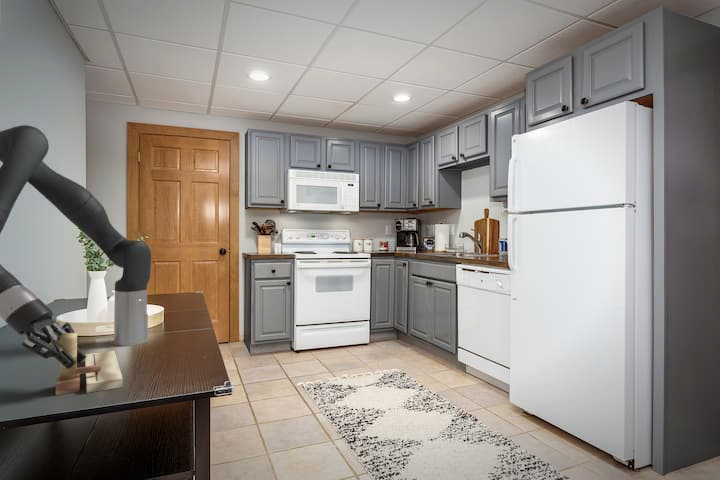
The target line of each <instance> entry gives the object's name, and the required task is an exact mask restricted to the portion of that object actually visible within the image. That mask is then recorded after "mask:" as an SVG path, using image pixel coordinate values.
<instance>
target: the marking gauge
mask: <svg viewBox="0 0 720 480" xmlns="http://www.w3.org/2000/svg"><path fill="white" fill-rule="evenodd" d="M77 337H78V333H76V332H75V333H66V334H62V335H60V339H59V341H60V345H61V346H62V347H63V349H64V350H63V351H65V350H66V351H67V352H68V353H69V354H70V355H71V356H72V357H73V358H74V359H75V360H76V364H74V365H73V366H72V367H71V368H69V369H67V368H66V367H65V366H64V365H63V364H62V363H60V362H59V375H56V380H55V396H58V395H59V396H60V395H65V394H70V393H77V392H80V391H81V389H80V388H81V385H80V384H81V383H80V382H81V377H80V376H81V375H84V374H85V375H86V373H92V372H95V375H98V372H99V371H101V365H93V366H86V367H85V366H81V367H78V363H77V347H78V342H77Z"/></svg>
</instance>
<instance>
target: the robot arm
mask: <svg viewBox="0 0 720 480" xmlns="http://www.w3.org/2000/svg"><path fill="white" fill-rule="evenodd" d="M49 145H50V144H49V140H48V139H47V136H46V135H45V133H44V132H43V131H41V130H40V129H39V128H37V127H36V126H32V125H27V124H26V125H17V126H13V127H9V128H7V129H5V130H1V131H0V162H1V163H2V164H1V166H0V234H1V232H2V231H3V229H4V227H5V225H6V223H7V221H8V219H9V217H10V214H11V212H12V209H13V208H14V206H15V203H16V201H17V200H18V198H19V196H20V194H21V193H22V191H23V189H24V187H25V186H26V184H27V183H29V185H31V186H32V187H33V188H34V189H36V191H38V192H39V193H40V194H41V195H42V196H43V197H44V198H45V199H46V200H48V201H49V203H51V204H52V205H53V206H54V207H55V208H56V209H57V210H58V211H59V212H60V213H61V214H62V215H63V216H65V218H67V220H69V221H70V222H71V223H72V224H74V225H75V227H77V229H79V230H80V231H81V232H82V233H83V234H85V236H87V237H88V238H89V239H90V240H92V242H94V243H95V244H96V245H97V247H98V248H100V250H101V251H102V252H103V254H105V256H106V257H107V258H108V259H109V260H110V262H112V264H113V265H115V266H116V267H118V268H122V275H121V277H120V279H118V280H116V281H115V283H114V318H113V319H114V322H113V324H114V326H113V336H114V337H113V340H114V341H113V344H114V345H115V346H118V347H129V346H130V347H132V346H137V345H141V344H146V343H148V340H149V339H148V337H149V336H148V331H149V330H148V328H149V324H148V323H149V320H148V319H149V314H148V284H149V282H150V279H151V270H152V269H151V268H152V267H151V266H152V252H151V248H150V246H149V245H148V243H146V242H145V241H142V240H133V239H130V240H129V239H128V238H126V237H124V236H123V234H121V233H120V232H119V231H118V230H116V229H115V227H114V226H113V225H112V223H111V222H110V219H109V216H108V213H107V212H106V209H105V207H104V206H103V205H102V203H101V202H100V201H99V200H98V199H97V198H96V197H95V196H94V195H93V194H92V193H91V192H90V190H88V189H87V188H86V187H84V186H83V185H82V184H80V183H77V182H75V181H74V180H72V179H70V178H68V177H66V176H64V175H62V174H60V173H58V172H57V171H55V170H54V169H53V168H50V167H49V165H47V164H46V163H45V162H44V161H43V160H44V158H45V157H46V156H47V154H48V151H49V147H50V146H49ZM53 314H54V312H53V310H51V308H49V307H48V306H47V304H45V302H44V301H42V300H41V299H40V298H39V297H38V296H37V295H36V294H35V293H34V292H33V291H32V290H30V288H28V287H26V286H25V285H24V284H23V283H22V282H21V281H20V280H18V278H16V277H15V275H13V274H12V273H11V272H9V271H8V269H6V268H4V266H3V265H2V264H1V263H0V318H1V319H2V320H3V321H4V323H6V324H7V325H8V326H10V328H11V329H13V330H14V332H16V333H17V334H18V335H19V336H25V335H26V339H25V340H24V341H22V342H21V346H22V347H24V348H26V349H27V350H30V351H31V352H33V353H35V354H37V355H38V356H40V357H42V358H44V359H49V358H52V359H56V360H57V361H58V362H59V364H60V363H62V364H63V365H64V366H65V367H66V368H67V369H69V368H71V367H72V366H73V365H74V364H76V360H75V359H74V358H73V357H72V356H71V355H70V354H69V353H68V352H67V351H66V350H65V351H63V350H64V349H63V347H62V346H61V345H60V335H62V334H66V333H76V332H75V330H74V329H73V326H72V325H71V324H70V323H69V322H65V323H64V324H59V322H58V321H55V320H54V319H53V317H52V316H53ZM78 342H80V339H79V337H78V336H77V343H78ZM85 354H86V353H84V352H83V351H82V350H81V349H80V348H79V347H78V346H77V364H80V363H83V361H85V358H86V355H85Z"/></svg>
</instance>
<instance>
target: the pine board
mask: <svg viewBox="0 0 720 480" xmlns="http://www.w3.org/2000/svg"><path fill="white" fill-rule="evenodd" d="M84 354H85V355H86V358H85V359H84V363H85V364H84V365H85V366H84V367H86V366H93V365H101V371H99V372H98V375H95V372H92V373H85V381H86V385H85V387H86V394H89V393H95V392H102V391H106V390H111V389H118V388H123V385H124V383H123V380H124V379H123V374H122V372H121V369H120V364H119V361H118V358H117V355H116V351H115V350H110V351H103V352H102V351H101V352H100V351H99V352H95V353H94V352H92V353H84Z"/></svg>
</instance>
